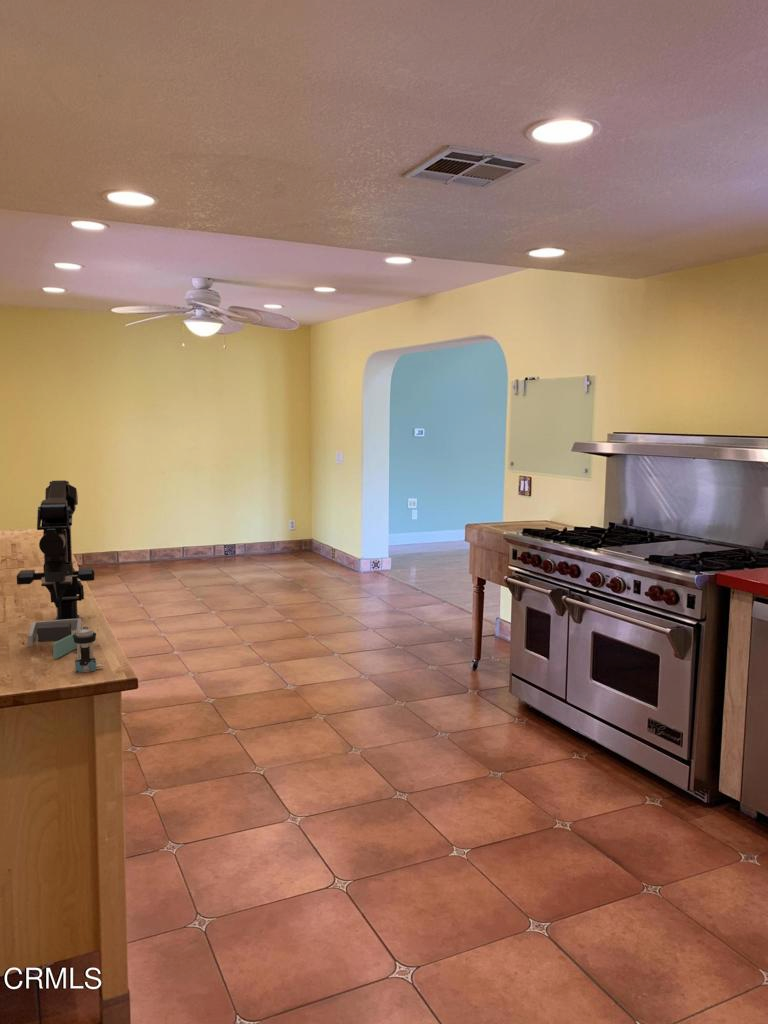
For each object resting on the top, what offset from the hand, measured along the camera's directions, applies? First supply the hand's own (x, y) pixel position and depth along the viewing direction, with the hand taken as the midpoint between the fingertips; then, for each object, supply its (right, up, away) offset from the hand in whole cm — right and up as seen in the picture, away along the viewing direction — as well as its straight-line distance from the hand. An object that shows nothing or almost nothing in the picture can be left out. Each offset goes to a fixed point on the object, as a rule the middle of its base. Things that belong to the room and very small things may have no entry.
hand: (57, 607), depth 203 cm
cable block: (-5, -10, +9) cm, 14 cm away
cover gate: (+4, -11, -3) cm, 12 cm away
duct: (-3, -10, +9) cm, 14 cm away
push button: (+15, -14, -17) cm, 26 cm away
